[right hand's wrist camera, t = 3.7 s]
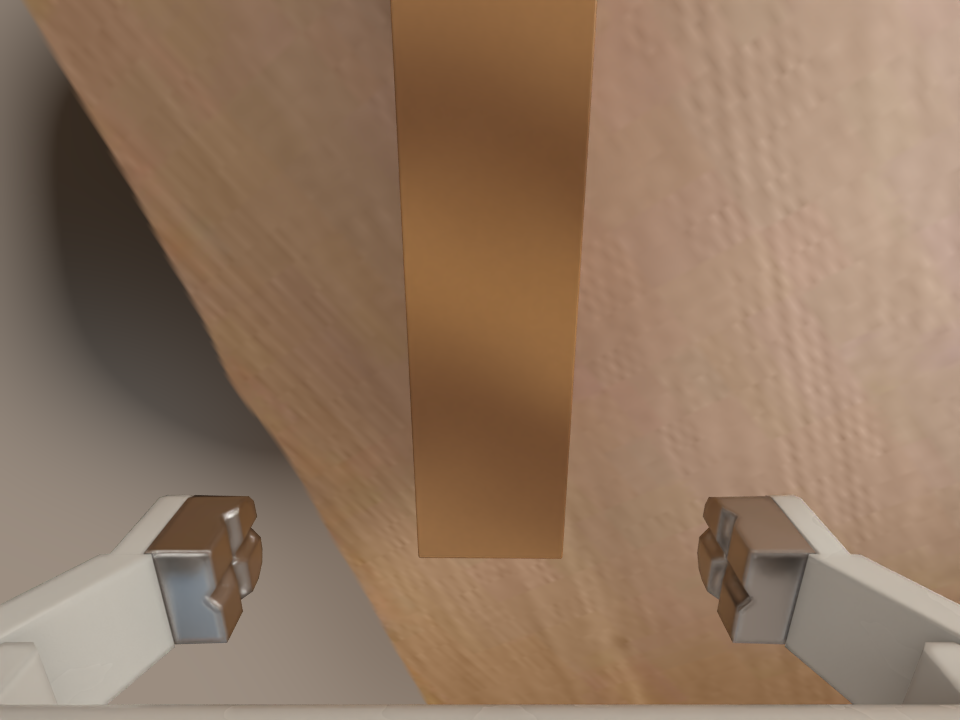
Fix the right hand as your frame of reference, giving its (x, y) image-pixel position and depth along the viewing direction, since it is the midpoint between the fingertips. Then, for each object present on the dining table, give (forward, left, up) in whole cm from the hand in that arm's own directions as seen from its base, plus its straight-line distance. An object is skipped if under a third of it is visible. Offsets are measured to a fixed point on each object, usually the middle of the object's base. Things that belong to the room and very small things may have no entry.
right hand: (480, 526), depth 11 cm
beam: (+21, -24, -14) cm, 34 cm away
